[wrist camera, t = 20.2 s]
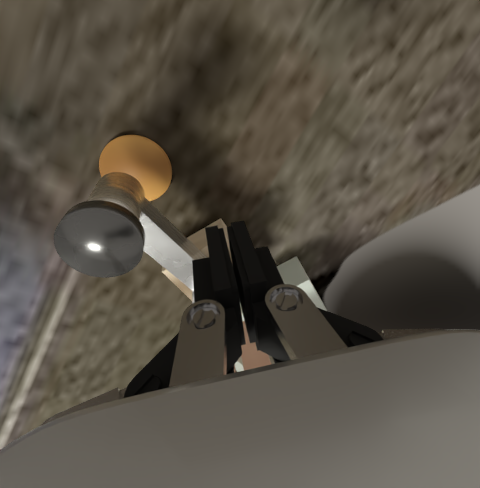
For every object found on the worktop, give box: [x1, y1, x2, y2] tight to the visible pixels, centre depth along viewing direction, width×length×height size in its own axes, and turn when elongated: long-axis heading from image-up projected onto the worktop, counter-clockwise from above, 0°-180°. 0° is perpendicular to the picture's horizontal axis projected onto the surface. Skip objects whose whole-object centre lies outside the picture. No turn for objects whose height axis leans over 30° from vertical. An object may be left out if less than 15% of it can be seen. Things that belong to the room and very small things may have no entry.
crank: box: [54, 172, 207, 303], centre depth 19 cm, size 14×4×6 cm, turn 34°
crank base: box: [99, 135, 232, 300], centre depth 23 cm, size 16×6×3 cm, turn 29°
